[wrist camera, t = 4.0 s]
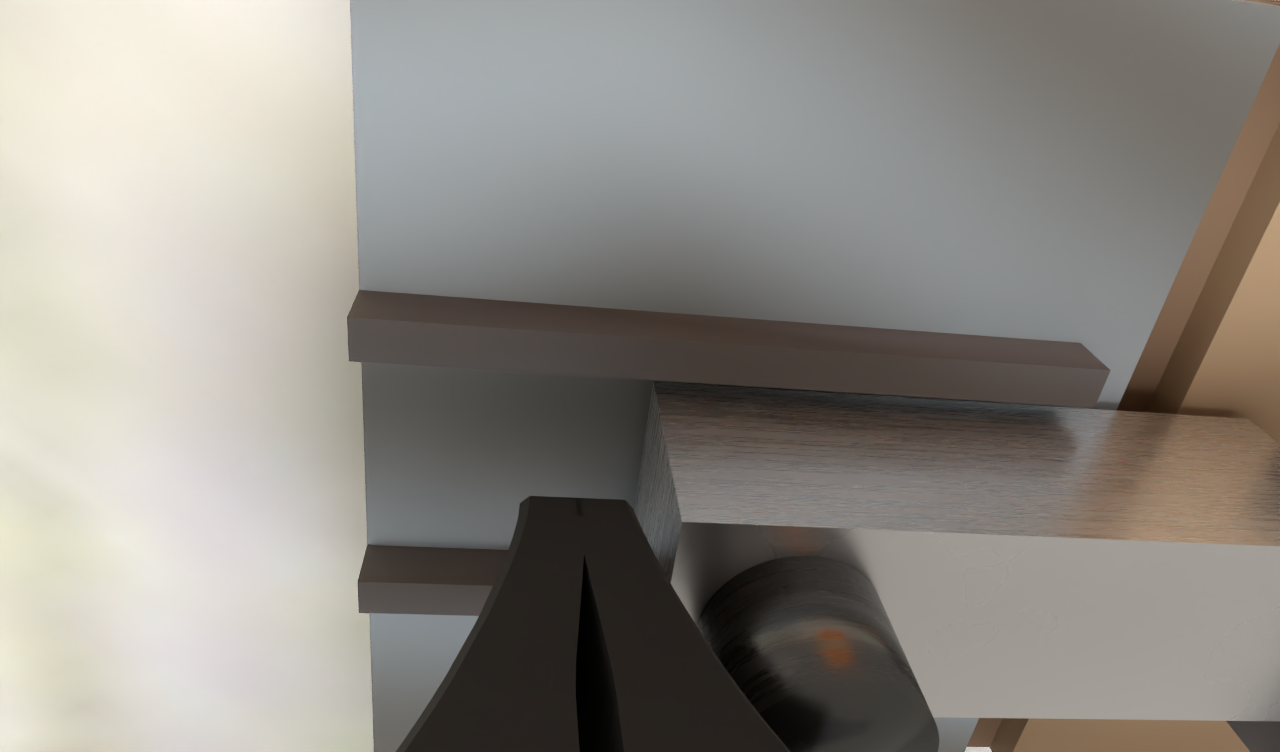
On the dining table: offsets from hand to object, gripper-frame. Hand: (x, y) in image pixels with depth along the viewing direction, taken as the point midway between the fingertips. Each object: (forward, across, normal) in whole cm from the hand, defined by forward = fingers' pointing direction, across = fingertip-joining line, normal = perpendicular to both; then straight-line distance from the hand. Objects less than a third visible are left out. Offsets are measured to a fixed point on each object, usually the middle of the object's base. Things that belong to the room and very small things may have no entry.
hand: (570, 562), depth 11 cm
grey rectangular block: (+2, -6, 0) cm, 6 cm away
